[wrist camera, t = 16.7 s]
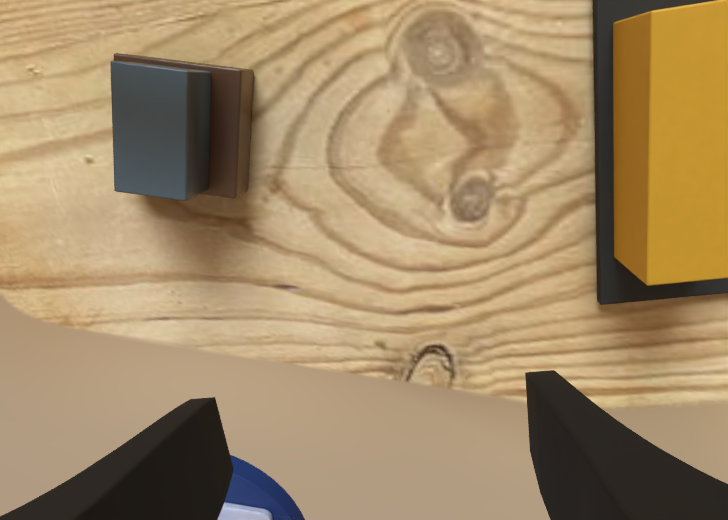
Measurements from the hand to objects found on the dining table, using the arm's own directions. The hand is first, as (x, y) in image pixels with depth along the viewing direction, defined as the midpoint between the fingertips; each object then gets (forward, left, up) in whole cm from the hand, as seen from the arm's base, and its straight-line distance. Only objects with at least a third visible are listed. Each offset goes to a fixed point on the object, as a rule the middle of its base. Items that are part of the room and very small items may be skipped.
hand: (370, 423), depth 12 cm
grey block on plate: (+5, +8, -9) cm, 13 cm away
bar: (+6, -8, -9) cm, 14 cm away
